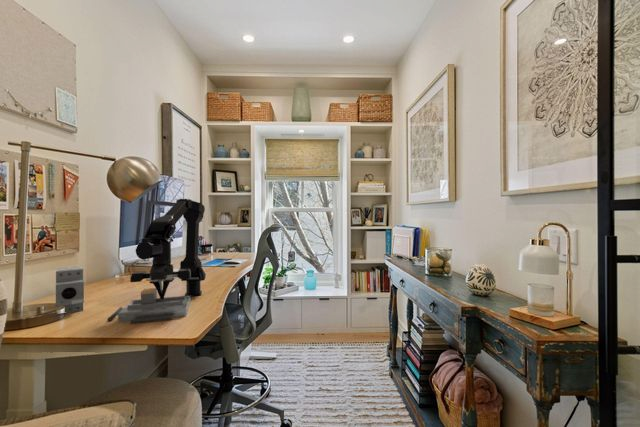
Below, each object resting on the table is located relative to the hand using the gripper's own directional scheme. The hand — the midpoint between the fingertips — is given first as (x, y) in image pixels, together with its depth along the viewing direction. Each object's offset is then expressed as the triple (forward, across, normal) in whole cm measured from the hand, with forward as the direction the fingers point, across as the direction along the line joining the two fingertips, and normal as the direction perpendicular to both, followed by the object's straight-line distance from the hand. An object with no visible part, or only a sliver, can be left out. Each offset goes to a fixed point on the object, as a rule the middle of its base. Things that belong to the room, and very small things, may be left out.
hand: (162, 299), depth 111 cm
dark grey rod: (+4, -14, 0) cm, 15 cm away
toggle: (+1, -4, 0) cm, 4 cm away
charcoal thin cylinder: (+4, -2, -10) cm, 11 cm away
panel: (+4, -1, 0) cm, 5 cm away
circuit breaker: (+4, -31, +10) cm, 33 cm away
